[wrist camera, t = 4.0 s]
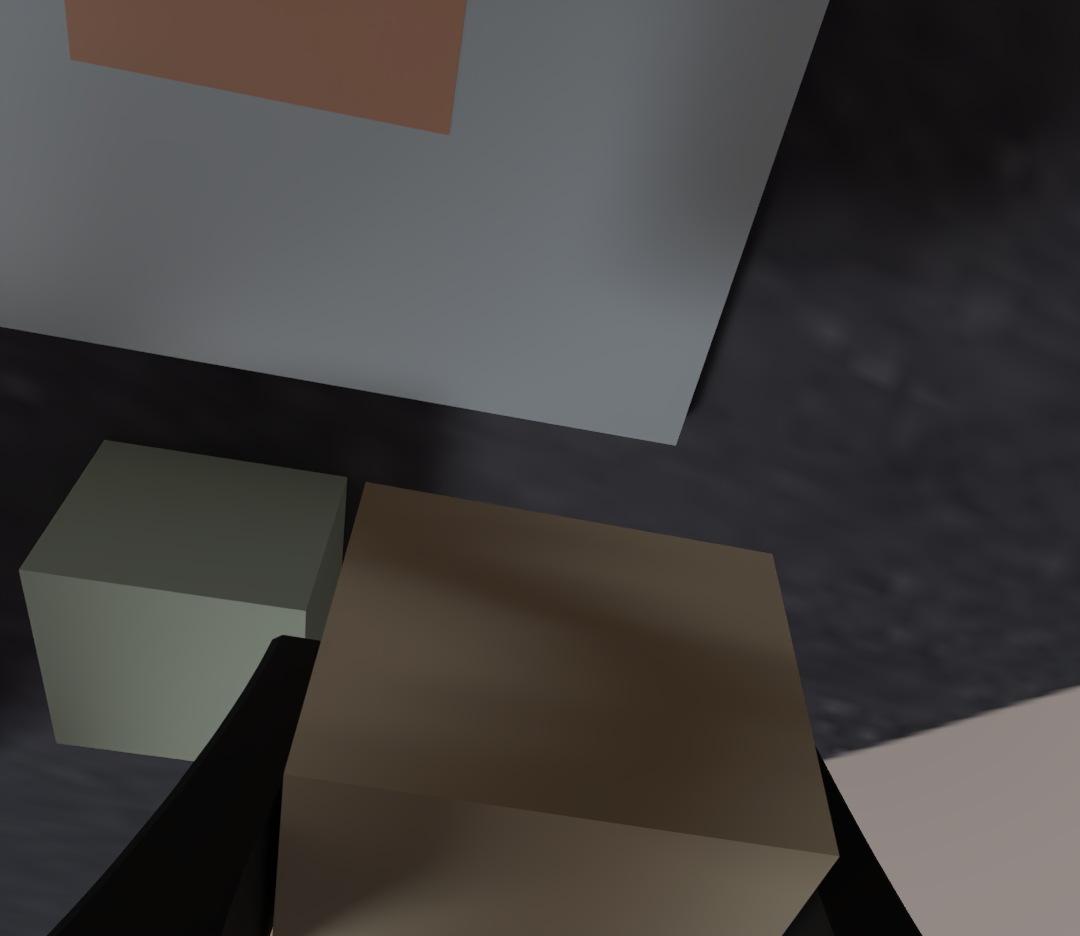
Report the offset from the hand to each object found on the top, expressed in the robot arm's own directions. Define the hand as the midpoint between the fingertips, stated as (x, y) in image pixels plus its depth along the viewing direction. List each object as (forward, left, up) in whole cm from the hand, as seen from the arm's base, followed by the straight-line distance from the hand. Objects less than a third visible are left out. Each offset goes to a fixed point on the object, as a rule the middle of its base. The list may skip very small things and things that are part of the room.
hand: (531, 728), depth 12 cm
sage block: (-6, -6, -9) cm, 12 cm away
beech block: (0, 0, -1) cm, 1 cm away
